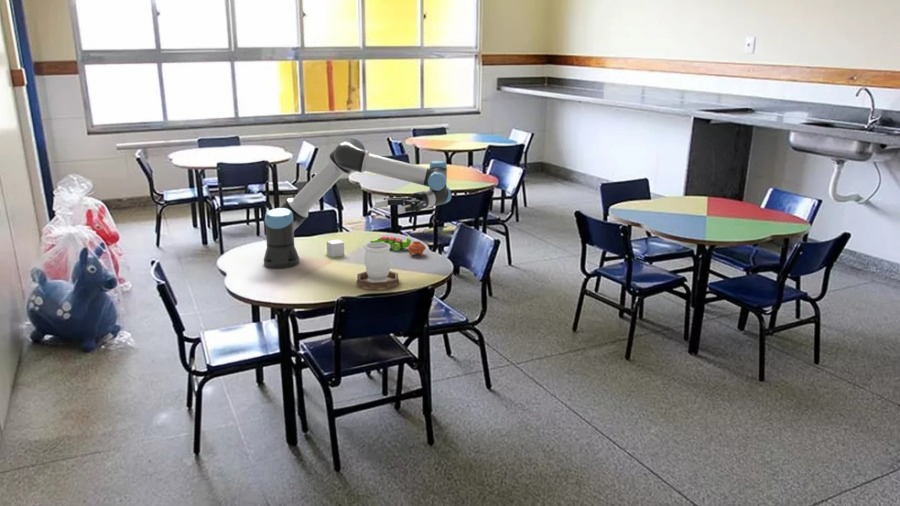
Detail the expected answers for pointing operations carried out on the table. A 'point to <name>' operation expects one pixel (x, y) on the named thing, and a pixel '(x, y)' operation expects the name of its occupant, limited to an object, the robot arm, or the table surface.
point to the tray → (363, 282)
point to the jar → (377, 261)
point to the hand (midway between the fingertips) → (386, 207)
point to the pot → (416, 248)
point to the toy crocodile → (394, 242)
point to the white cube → (335, 248)
